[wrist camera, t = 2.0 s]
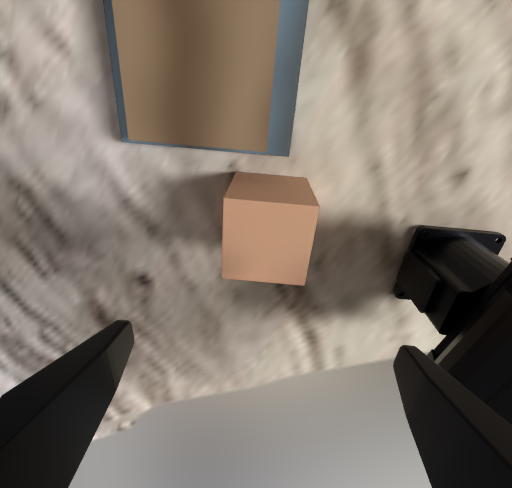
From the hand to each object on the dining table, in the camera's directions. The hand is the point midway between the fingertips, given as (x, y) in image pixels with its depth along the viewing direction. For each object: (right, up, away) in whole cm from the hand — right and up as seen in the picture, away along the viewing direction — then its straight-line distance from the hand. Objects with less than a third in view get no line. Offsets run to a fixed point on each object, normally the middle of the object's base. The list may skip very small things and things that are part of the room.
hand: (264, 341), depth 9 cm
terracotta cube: (+1, +6, +12) cm, 13 cm away
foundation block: (-3, +15, +7) cm, 17 cm away
